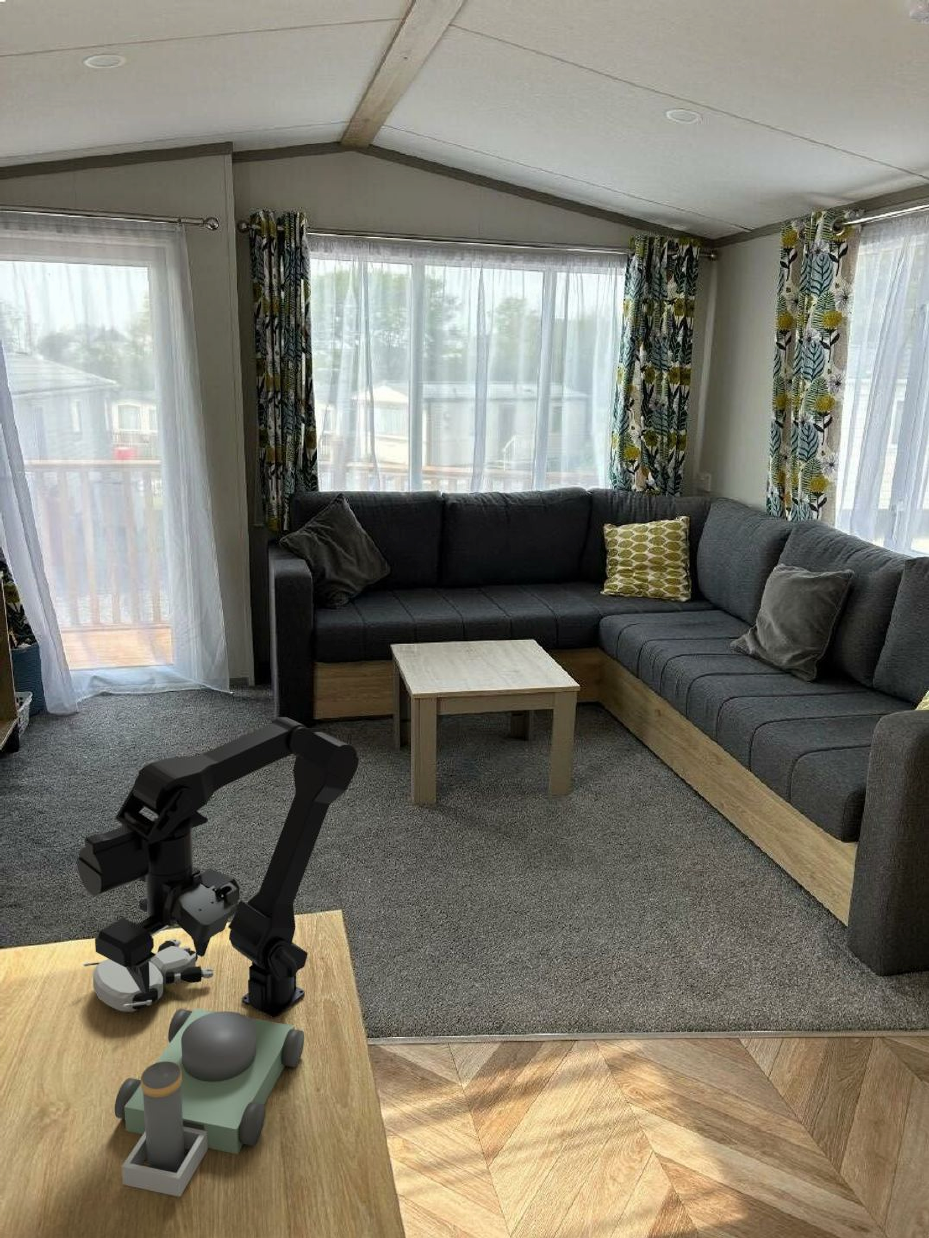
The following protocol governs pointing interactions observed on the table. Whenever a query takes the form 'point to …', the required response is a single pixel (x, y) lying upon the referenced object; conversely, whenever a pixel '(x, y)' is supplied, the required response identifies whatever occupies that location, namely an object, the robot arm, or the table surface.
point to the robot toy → (163, 970)
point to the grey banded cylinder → (163, 1116)
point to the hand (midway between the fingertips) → (173, 973)
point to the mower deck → (211, 1089)
